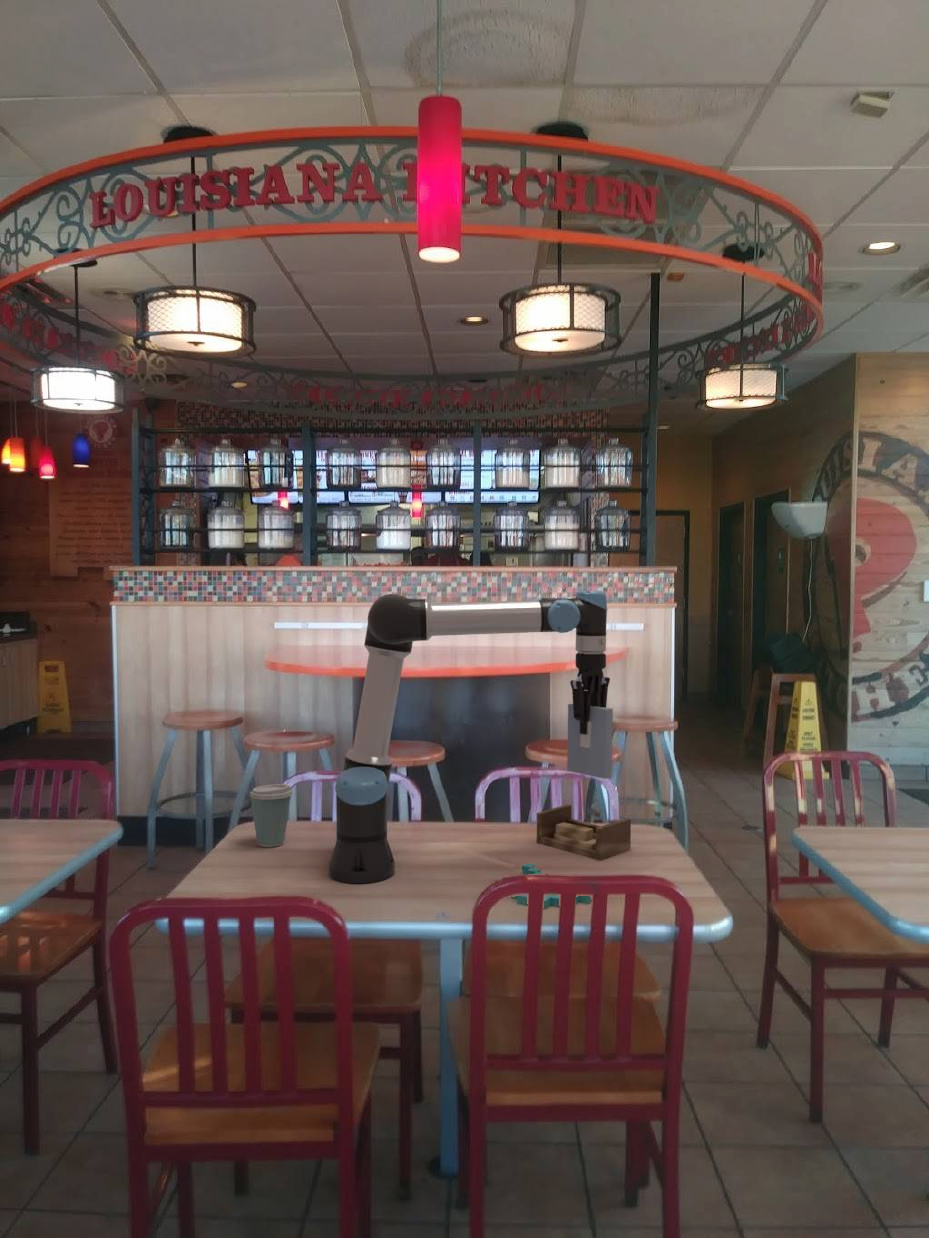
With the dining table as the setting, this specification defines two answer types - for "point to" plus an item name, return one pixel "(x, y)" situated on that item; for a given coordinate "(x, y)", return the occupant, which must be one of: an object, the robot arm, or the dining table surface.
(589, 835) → the offcut
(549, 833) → the rack
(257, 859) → the dining table surface
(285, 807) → the disposable coffee cup
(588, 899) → the alien figure
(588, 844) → the offcut
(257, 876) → the dining table surface
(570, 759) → the grey rectangular panel
